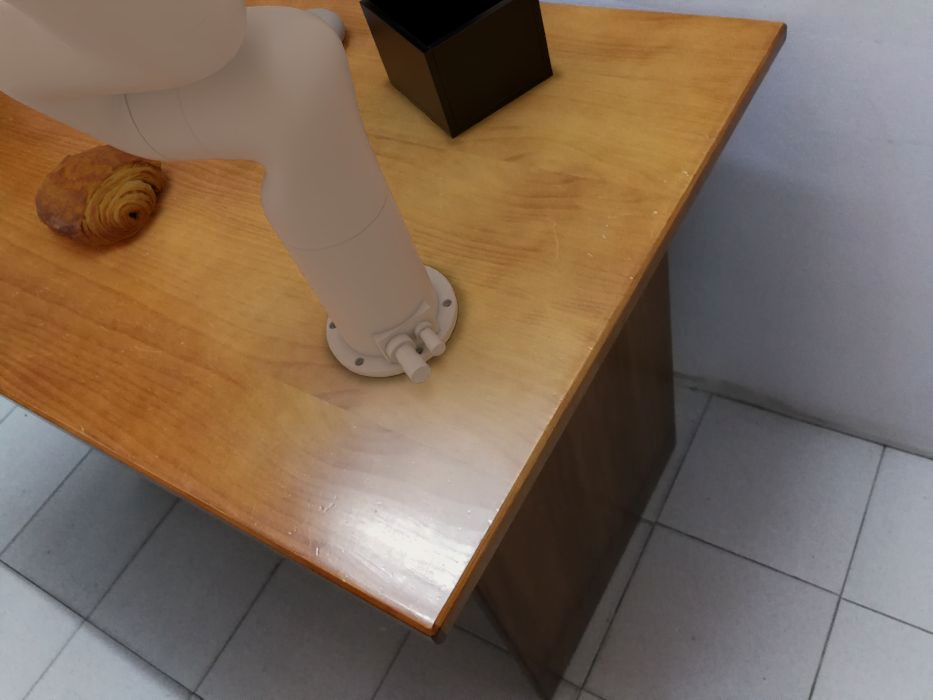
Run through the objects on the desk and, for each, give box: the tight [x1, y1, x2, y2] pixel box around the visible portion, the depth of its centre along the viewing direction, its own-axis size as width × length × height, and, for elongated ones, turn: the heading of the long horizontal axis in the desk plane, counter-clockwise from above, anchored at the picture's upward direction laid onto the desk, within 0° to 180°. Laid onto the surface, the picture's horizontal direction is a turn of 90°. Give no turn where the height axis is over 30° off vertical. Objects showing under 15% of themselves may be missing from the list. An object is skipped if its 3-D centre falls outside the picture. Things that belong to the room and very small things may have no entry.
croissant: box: [34, 144, 166, 246], centre depth 93 cm, size 14×16×8 cm
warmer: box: [358, 0, 554, 139], centre depth 88 cm, size 15×14×11 cm
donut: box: [304, 7, 346, 43], centre depth 103 cm, size 10×4×10 cm
